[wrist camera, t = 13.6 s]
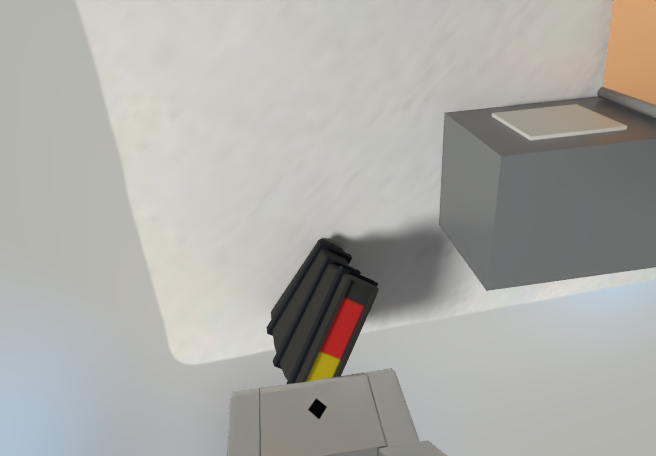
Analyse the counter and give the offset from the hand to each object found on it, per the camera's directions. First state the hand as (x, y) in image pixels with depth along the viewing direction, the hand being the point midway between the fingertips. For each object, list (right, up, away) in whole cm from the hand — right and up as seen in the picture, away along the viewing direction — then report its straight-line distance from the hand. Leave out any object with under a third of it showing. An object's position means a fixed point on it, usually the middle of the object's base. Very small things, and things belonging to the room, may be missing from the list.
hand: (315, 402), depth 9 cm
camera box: (+20, +10, +40) cm, 46 cm away
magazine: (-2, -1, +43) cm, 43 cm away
